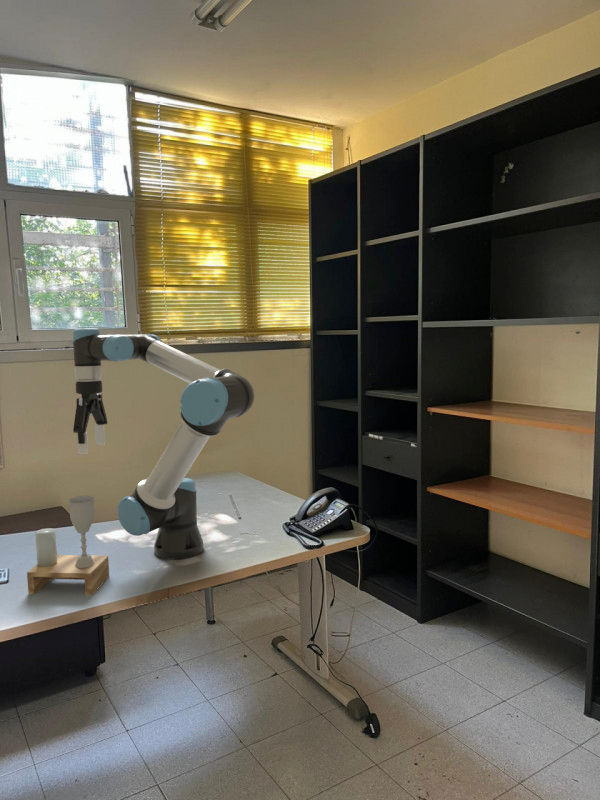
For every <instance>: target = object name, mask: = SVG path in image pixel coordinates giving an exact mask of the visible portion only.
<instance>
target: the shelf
mask: <svg viewBox="0 0 600 800" xmlns="http://www.w3.org/2000/svg"><path fill="white" fill-rule="evenodd" d="M80 555H81V554H80ZM80 555H79V554H77V555H76V554H70V555H69V554H66V555H65V554H57V563H56V564H55V565H53V566H49V567H39V566H38V565H37V564H36V565H34V566H33V567H32V568H30V569H29V570H28V571H27V572H26V577H27V578H26V579H27V591H28V595H35V594H37V592H39V591H40V590H41V589H42V588H44V587H45V586H46V585H47V584H49V582H51V580H75V581H76V580H80V581H82V580H83V581H84V590H85V591H84V592H85V594H84V595H85V596H92V595H93V594H94V593H95V592H96V591H97V590H98V589H99V588H100V587H101V586H102V585H103V584H104V583H105V581H107V579H109V577H110V566H109V555H91V556H92V559H93V561H94V562H95V564H94V565H92V566H90V567H86V568H77V567H75V564H76V561H77V558H78V557H79V556H80ZM102 583H103V584H102ZM101 584H102V585H101ZM100 585H101V586H100ZM98 587H99V588H98ZM97 588H98V589H97Z"/></svg>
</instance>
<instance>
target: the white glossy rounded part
mask: <svg viewBox="0 0 600 800" xmlns="http://www.w3.org/2000/svg"><path fill="white" fill-rule="evenodd" d="M56 532H57V531H56V529H55V528H50V527H49V528H41V529H38V530H36V531H35V532H34V533H35V534H34V535H35V546H36V547H35V548H36V549H35V551H36V563H37V564H36V565H38V566H39V567H49V566H53V565H55V564H56V563H57V555H58V551H57V550H58V549H57V534H56Z"/></svg>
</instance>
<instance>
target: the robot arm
mask: <svg viewBox="0 0 600 800" xmlns="http://www.w3.org/2000/svg"><path fill="white" fill-rule="evenodd" d="M72 346H73V361H74V369H73V372H74V375H75V376H74V377H75V380H77V381H75V383H74V384H75V393H76V394H77V395H80V397H81V398H80V397H78V398H76V407H75V414H74V415H75V416H74V423H73V430H72V431H73V433H75V434H76V433H77V434H76V435H77V436H76V437H77V451H78V453H77V454H78V455H89V441H88V437H89V436H88V432H87V428H88V424H89V420H90V415H91V414H92V417H93V419H94V421H95V422H94V423H96V424H95V425H94V434H95V445H96V446H106V435H105V433H106V432H105V431H106V430H105V425H108V418H107V413H106V410H105V406H104V402H103V394H102V392H103V381H102V380H101V379H102V378H103V376H102V375H103V374H102V373H103V372H102V371H103V370H102V361H104V362H107V361H109V362H124V361H130V360H131V361H133V360H141V361H143V362H146V363H148V364H150V365H152V366H153V367H155V368H157V369H160V370H162V371H164V372H165V373H167V374H170V375H172V376H173V377H175V378H178V379H180V380H182V381H184V382H186V383H188V384H187V386H186V387H185V388H184V389H183V391H182V393H181V396H180V401H179V403H181V406H180V413H179V415H180V419H181V422H180V424H179V426H178V427H177V428H176V430H175V432H174V434H173V435H172V437H171V438H170V440H169V442H168V444H167V445H166V447H165V449H164V450H163V453H162V454H161V456H160V457H159V459H158V461H157V462H156V464H155V466H154V467H153V468H152V471H151V472H150V474H149V476H148V477H147V478H145V479H142V480H141V481H140V482H139V483H137V485H136V487H135V489H134V490H133V492H132V493H131V495H126V496H125V497H123V498H122V499H120V500H119V502H118V504H117V507H116V509H117V510H116V513H117V516H118V521H119V523H120V525H121V527H122V528H123V530H124V531H126V532H127V533H128V534H129V535H131V536H133V537H134V536H135V537H139V536H143V535H147V534H149V533H150V532H153V531H155V530H157V529H158V531H157V535H156V536H155V537H156V538H155V541H154V545H153V552H154V553H153V554H154V555H155V556H156V557H158V558H161V559H163V560H164V559H165V560H182V559H183V560H184V559H187V558H191V557H194V556H198V555H199V554H201V553H202V552H203V551H204V549H205V547H204V539H203V536H202V534H201V531H200V529H199V526H198V515H197V514H198V513H197V512H198V511H197V509H198V508H197V506H198V505H197V488H196V481H195V480H194V479H192V478H189V477H186V476H187V474H188V472H189V471H190V469H191V468H192V466H193V464H194V462H196V459H197V458H198V457H199V455H200V453H201V452H202V450H203V449H204V448H205V445H206V444H207V442H208V441H209V439H210V438H212V437H216V436H217V435H219V434H220V433H221V430H223V427H224V426H225V424H226V422H228V420H231V419H235V418H240V417H242V416H244V415H245V414H247V413H248V412H249V411H250V410H251V408H252V407H253V404H254V402H255V390H254V388H253V385H252V383H251V382H250V381H249V380H248V379H247V378H246V377H244V376H243V375H240V374H239V373H238V372H237V373H236V372H234V371H232V370H230V369H228V368H222V369H220V368H217V367H215V366H213V365H212V364H208V363H207V362H204V361H202V360H201V359H198V358H195V357H194V356H192V355H190V354H187V353H185V352H183V351H181V350H179V349H176V348H175V347H172V346H170V345H168V344H165V343H164V342H163V341H162V340H161V338H160V337H159V336H158V335H156V334H152V333H151V334H150V333H142V334H141V333H139V334H137V333H136V334H115V333H114V334H102V335H101V334H100V330H99V328H97V327H96V328H89V327H88V328H75V329H74V330H73V332H72Z"/></svg>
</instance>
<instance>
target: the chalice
mask: <svg viewBox="0 0 600 800" xmlns="http://www.w3.org/2000/svg"><path fill="white" fill-rule="evenodd" d="M95 500H96V497H95V496H94V495H78V496H74V497H70V498H69V499H67V503H68V505H69V516H70V517H69V518H70V521H71V523H72V525H73V528H74V529H75V531H76V532H77V533H78V534H80V535H81V539H80V540H79V541H80V543H81V545H80V546H79V547H80V549H81V550H82V552H81V554H80V556H79V557H78V558H77V561H76V564H75V567H77V568H86V567H90V566H92V565H94V564H95V562H94V561H93V559H92V556H93V555H92V554H88V553H87V548H88V545H86V544H87V537H86V533H88V532H89V531H90V528H91V526H92V525H93V521H94V518H95V507H94V506H95V505H94V503H95Z"/></svg>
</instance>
